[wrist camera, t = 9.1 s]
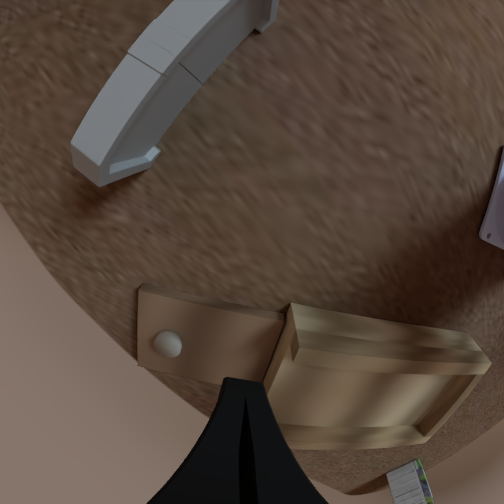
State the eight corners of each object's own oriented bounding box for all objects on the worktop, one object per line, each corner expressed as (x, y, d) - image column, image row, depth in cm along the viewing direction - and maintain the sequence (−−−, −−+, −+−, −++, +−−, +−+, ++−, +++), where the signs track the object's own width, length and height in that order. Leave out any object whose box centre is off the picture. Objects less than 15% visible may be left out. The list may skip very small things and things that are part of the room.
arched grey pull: (276, 20, 13) (289, -48, 6) (149, 168, 17) (83, 195, 10) (253, 5, 13) (252, -66, 6) (129, 153, 17) (55, 170, 9)
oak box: (466, 332, 22) (491, 363, 17) (411, 410, 26) (425, 442, 21) (290, 302, 20) (299, 347, 16) (252, 402, 24) (251, 445, 20)
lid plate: (282, 309, 21) (285, 328, 19) (258, 378, 24) (258, 398, 22) (145, 279, 20) (134, 296, 18) (142, 354, 23) (134, 372, 21)
